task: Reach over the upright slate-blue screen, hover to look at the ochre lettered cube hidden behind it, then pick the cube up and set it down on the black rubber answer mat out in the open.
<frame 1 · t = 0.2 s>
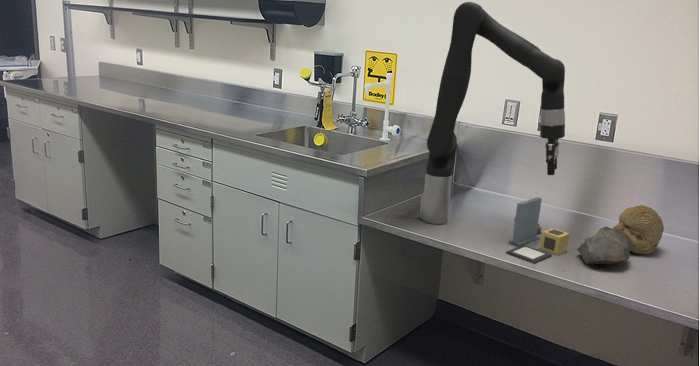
hand: (552, 172, 190), 23 cm above the worktop, fingers open, 8 cm apart
screen: (524, 241, 193), on the worktop
fossil: (632, 248, 192), on the worktop
answer mat: (528, 254, 181), on the worktop
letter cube: (553, 250, 187), on the worktop
stone: (601, 262, 179), on the worktop
rock: (527, 229, 205), on the worktop
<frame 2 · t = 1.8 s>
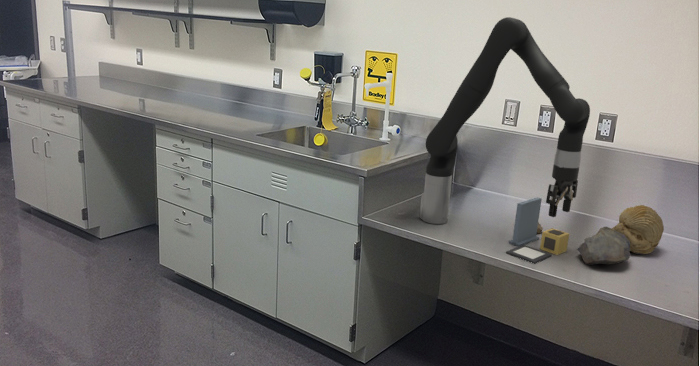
hand: (558, 213, 183), 12 cm above the worktop, fingers open, 8 cm apart
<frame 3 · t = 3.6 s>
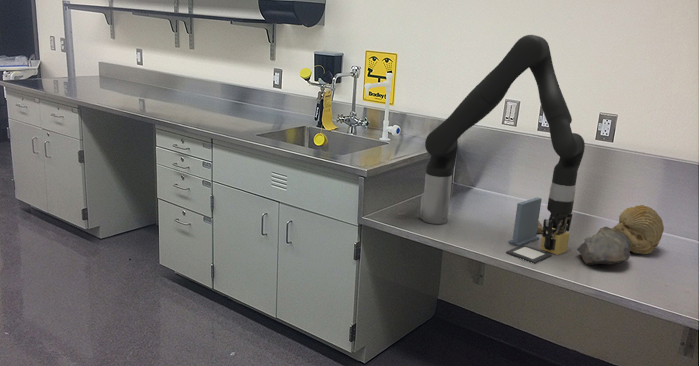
hand: (553, 246, 186), 1 cm above the worktop, fingers closed on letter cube, 6 cm apart
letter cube: (553, 249, 187), on the worktop, touching gripper
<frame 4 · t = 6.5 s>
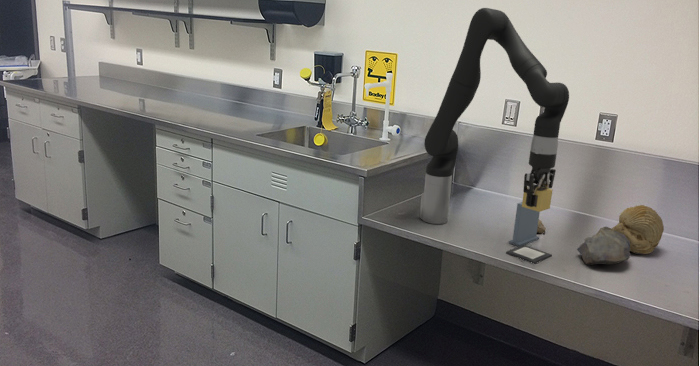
hand: (535, 204, 177), 17 cm above the worktop, fingers closed on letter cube, 6 cm apart
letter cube: (535, 207, 177), point 15 cm above the worktop, touching gripper
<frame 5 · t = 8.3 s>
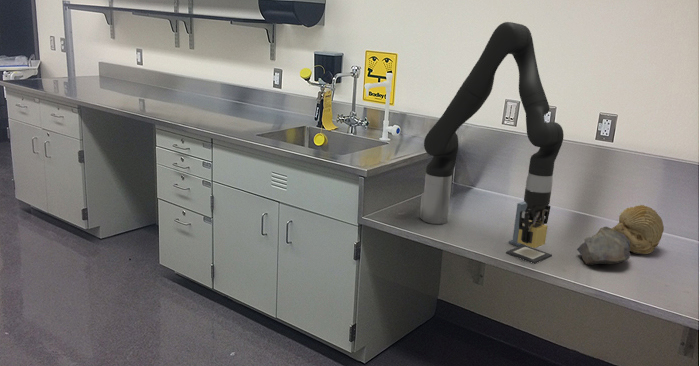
hand: (531, 239, 180), 5 cm above the worktop, fingers closed on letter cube, 6 cm apart
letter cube: (531, 243, 180), point 4 cm above the worktop, touching gripper
when the fingers open (3 cm above the worktop, at t = 9.5 s): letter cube stays where it is, resting on answer mat.
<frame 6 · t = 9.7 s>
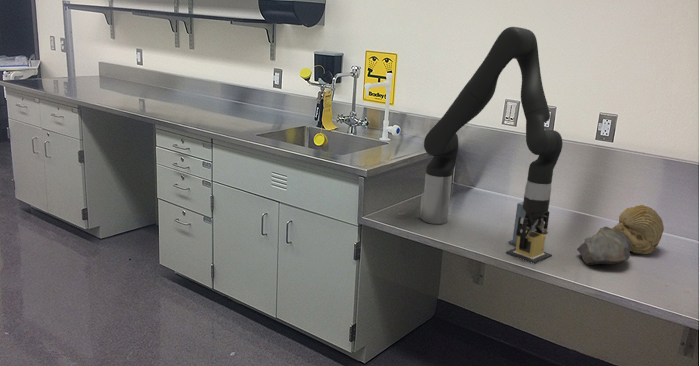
hand: (530, 245, 181), 3 cm above the worktop, fingers open, 8 cm apart
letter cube: (529, 252, 181), point 1 cm above the worktop, touching answer mat
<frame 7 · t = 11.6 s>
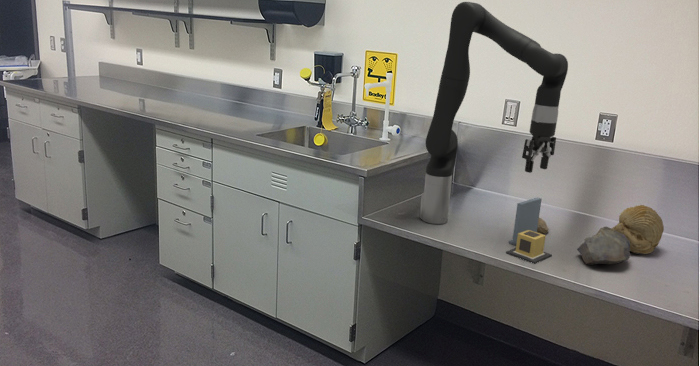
hand: (535, 170, 184), 25 cm above the worktop, fingers open, 8 cm apart
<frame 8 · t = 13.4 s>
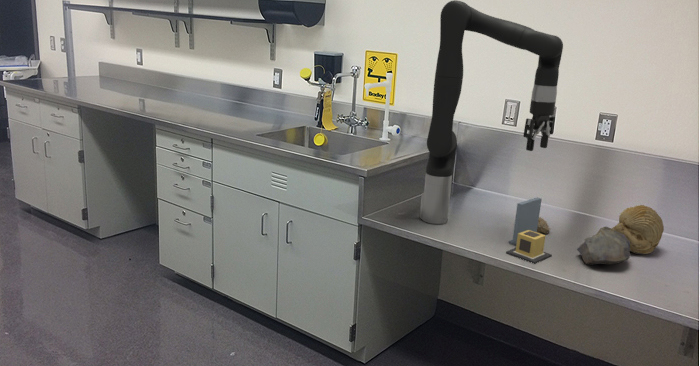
hand: (536, 149, 190), 30 cm above the worktop, fingers open, 8 cm apart
at the end: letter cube inside the target area on the answer mat (0.1 cm from its centre), point 0.7 cm above the answer mat's base; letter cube tilted 0°; the gripper is holding nothing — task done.
